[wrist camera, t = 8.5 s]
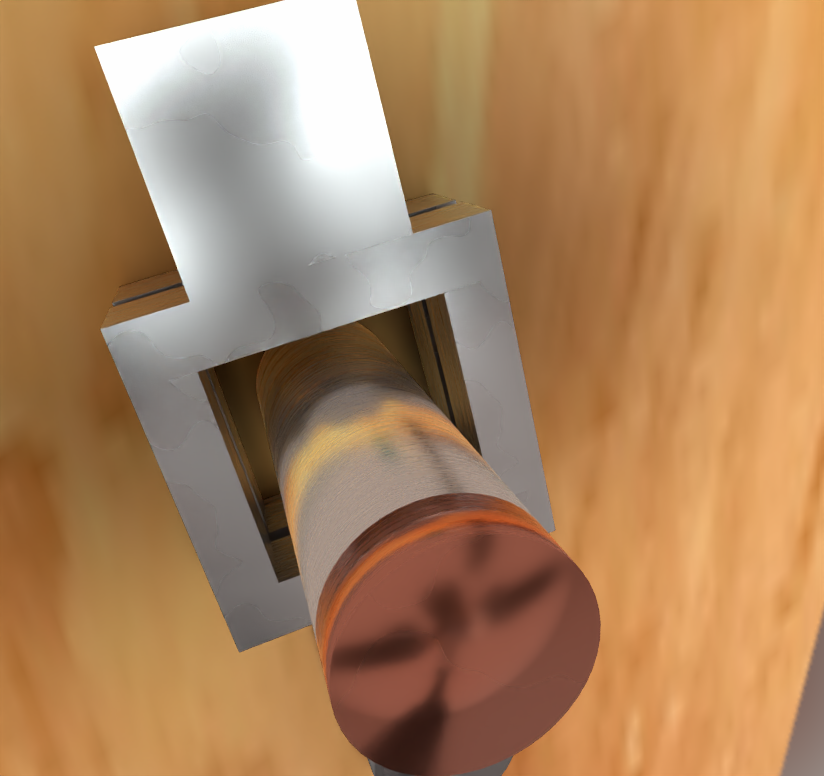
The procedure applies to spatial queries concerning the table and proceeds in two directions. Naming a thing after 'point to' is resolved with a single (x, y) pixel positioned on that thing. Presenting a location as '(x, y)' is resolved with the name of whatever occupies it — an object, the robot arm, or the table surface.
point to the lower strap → (269, 507)
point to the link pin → (418, 565)
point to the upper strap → (290, 267)
